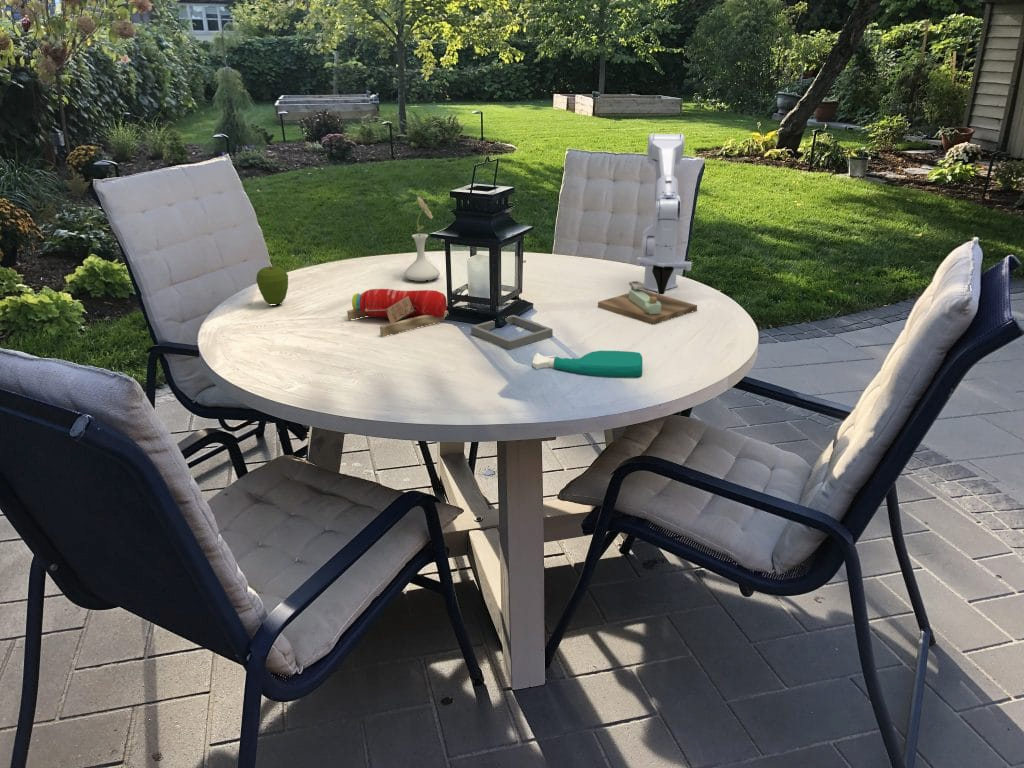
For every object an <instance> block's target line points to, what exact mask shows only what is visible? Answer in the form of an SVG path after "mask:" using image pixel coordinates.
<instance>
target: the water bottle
mask: <svg viewBox="0 0 1024 768" xmlns="http://www.w3.org/2000/svg"><path fill="white" fill-rule="evenodd" d="M352 296H353V297H352V300H351V306H352V310H353V309H359V310H361V311H362V312H363V313H365V314H366V315H368V316H370V317H372V318H378V319H379V318H380V319H381V318H383V319H388V320H389V322H390V323H394V322H398V321H402V320H405V318H406V319H410V318H414V317H418V316H422V315H433V316H434V317H443V316H444V312H445V311H446V310H447V307H448V303H447V297H446V295H445V294H444V293H443V292H440V291H437V290H431V289H430V290H429V289H427V290H426V289H423V290H421V289H420V290H401V289H400V290H398V289H390V288H372V289H368V290H366V291H364V292H362V293H361V294H360V293H359V292H358V293H354V294H353V295H352ZM390 323H389V324H390Z"/></svg>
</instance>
